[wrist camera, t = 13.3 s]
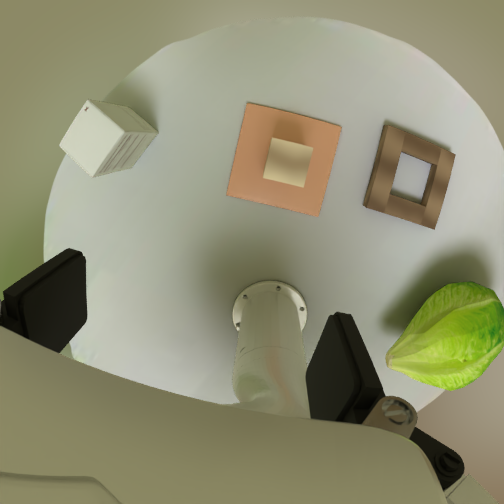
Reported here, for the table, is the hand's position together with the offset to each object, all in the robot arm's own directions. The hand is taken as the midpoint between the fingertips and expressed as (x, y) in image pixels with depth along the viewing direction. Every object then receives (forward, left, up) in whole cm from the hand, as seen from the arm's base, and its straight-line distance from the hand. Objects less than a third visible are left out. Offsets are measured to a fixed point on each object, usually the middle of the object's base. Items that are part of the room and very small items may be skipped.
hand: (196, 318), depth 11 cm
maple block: (+5, -4, -36) cm, 36 cm away
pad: (+5, -4, -36) cm, 37 cm away
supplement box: (+4, +20, -36) cm, 42 cm away
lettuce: (-14, -39, -36) cm, 55 cm away
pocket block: (+8, -24, -36) cm, 44 cm away
